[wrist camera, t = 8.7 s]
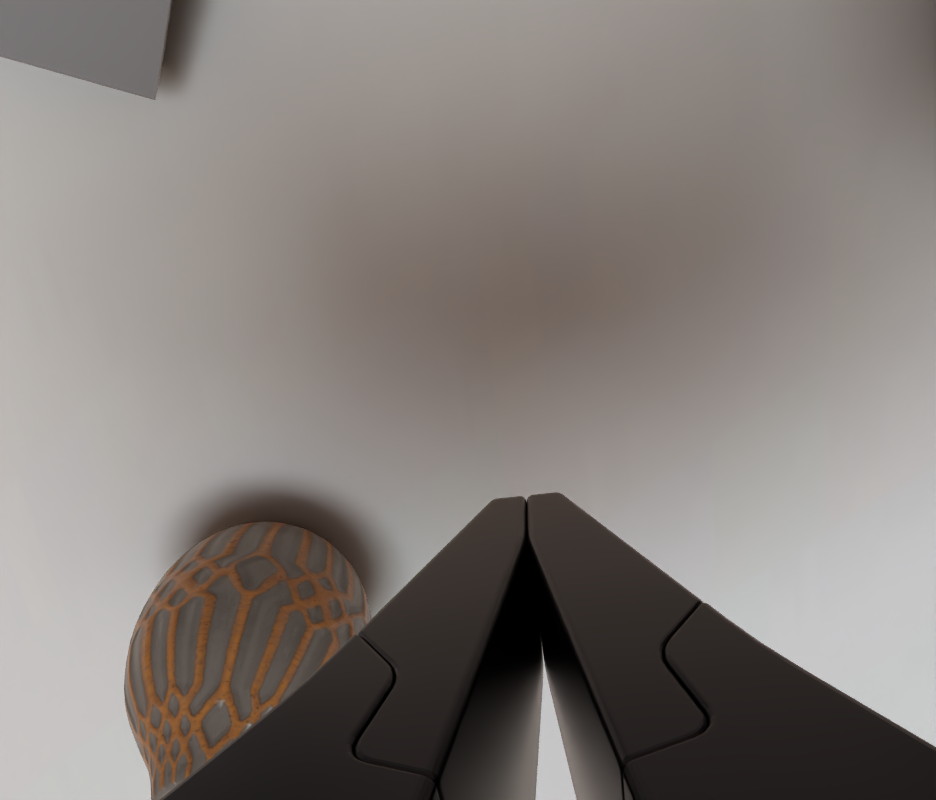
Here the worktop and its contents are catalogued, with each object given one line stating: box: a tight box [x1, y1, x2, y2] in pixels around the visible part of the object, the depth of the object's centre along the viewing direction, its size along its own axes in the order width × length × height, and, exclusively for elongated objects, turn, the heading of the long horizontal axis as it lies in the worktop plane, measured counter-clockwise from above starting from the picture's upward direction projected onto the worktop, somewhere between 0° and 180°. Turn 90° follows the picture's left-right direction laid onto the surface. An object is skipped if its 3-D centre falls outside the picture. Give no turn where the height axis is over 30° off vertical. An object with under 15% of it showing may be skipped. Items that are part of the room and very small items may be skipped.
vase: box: [124, 522, 371, 800], centre depth 23 cm, size 7×7×9 cm
